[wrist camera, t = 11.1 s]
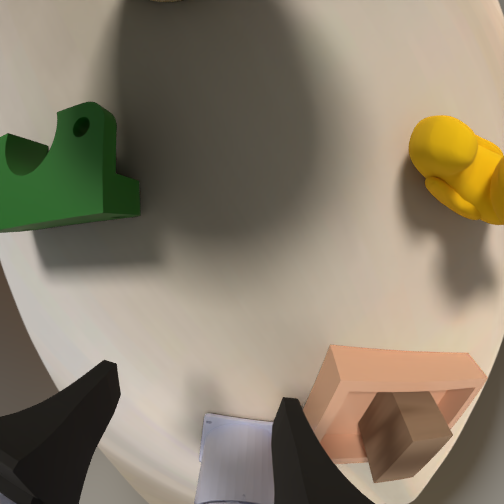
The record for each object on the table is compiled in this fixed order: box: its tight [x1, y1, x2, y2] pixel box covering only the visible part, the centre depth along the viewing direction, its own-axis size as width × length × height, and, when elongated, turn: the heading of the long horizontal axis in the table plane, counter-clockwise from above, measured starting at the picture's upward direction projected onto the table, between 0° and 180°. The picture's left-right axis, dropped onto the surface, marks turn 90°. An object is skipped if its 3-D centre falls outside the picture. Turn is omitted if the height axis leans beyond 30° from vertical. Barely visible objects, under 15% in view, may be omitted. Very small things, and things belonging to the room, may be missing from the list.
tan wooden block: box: [358, 391, 453, 483], centre depth 19 cm, size 6×4×7 cm, turn 169°
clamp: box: [0, 102, 140, 233], centre depth 15 cm, size 12×6×9 cm, turn 87°
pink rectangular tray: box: [303, 345, 488, 464], centre depth 21 cm, size 11×15×4 cm
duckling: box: [409, 115, 504, 225], centre depth 12 cm, size 11×5×10 cm, turn 69°
